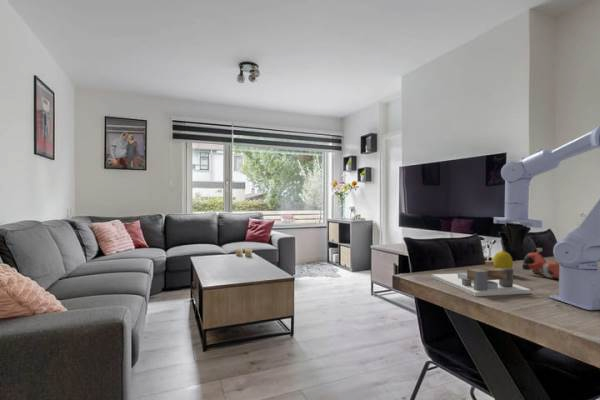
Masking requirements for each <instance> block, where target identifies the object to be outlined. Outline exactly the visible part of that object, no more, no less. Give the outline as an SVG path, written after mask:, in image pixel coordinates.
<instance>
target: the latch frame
mask: <svg viewBox="0 0 600 400" xmlns="http://www.w3.org/2000/svg"><path fill="white" fill-rule="evenodd" d="M431 278H432V279H434V280H436V281H439V282H441V283H444V284H446V285H448V286H451V287H452V288H455V289H457V290H460V291H463V292H464V293H467V294H469V295H471V296H474V297H484V296H485V297H486V296H487V297H488V296H504V295H505V296H506V295H508V296H509V295H526V294H532V289H530V288H528V287H524V286H521V285H518V284H516V283H515V284H514V283H513V286H512V287H507V286H502V285H499V280H487V271H474V281H473V280H470V279H467V272H457V273H439V274H438V273H437V274H436V273H434V274H431Z"/></svg>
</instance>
